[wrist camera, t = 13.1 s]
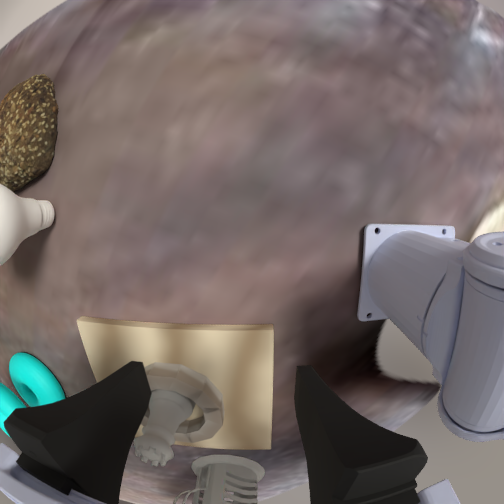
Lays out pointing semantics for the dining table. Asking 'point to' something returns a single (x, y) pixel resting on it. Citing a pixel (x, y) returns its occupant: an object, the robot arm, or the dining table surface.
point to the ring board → (205, 355)
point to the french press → (225, 480)
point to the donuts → (28, 386)
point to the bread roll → (27, 131)
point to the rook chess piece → (162, 426)
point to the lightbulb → (20, 220)
